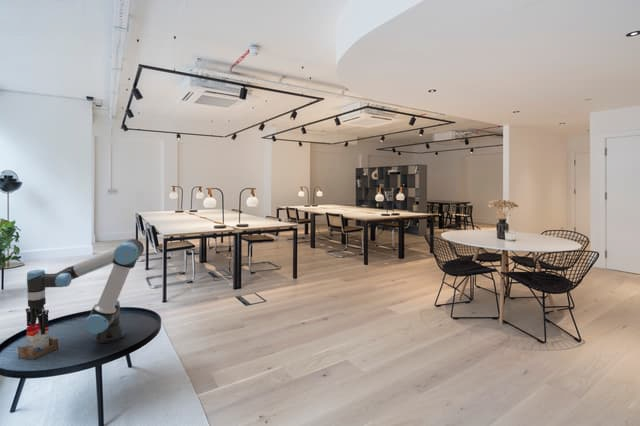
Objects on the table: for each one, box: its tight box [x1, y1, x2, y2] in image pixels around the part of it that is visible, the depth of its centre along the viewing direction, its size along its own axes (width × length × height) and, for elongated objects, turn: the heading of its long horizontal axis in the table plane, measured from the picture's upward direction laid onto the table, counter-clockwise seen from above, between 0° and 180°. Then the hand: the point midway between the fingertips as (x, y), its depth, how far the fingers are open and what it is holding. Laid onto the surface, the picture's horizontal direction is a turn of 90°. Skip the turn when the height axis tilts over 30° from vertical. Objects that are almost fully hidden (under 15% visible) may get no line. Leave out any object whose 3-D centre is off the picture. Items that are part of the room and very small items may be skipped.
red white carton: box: [26, 322, 50, 353], centre depth 186 cm, size 8×5×15 cm, turn 166°
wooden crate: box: [17, 336, 59, 361], centre depth 187 cm, size 10×13×6 cm
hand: (38, 339), depth 186 cm, fingers closed on red white carton, 5 cm apart
